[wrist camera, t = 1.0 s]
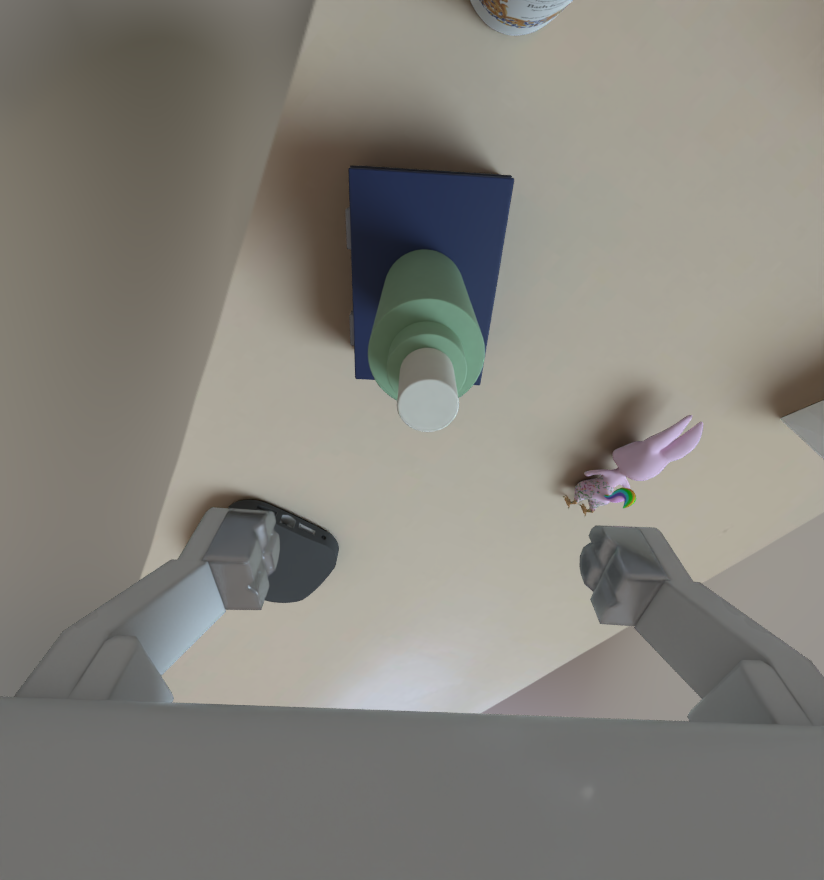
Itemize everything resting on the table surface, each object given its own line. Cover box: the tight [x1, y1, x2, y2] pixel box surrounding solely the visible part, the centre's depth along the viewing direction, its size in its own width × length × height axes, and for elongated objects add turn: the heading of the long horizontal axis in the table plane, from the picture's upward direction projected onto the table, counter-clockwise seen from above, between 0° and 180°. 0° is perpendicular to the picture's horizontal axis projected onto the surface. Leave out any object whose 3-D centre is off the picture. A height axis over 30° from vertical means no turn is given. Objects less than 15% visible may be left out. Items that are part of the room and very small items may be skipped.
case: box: [346, 166, 514, 385], centre depth 30 cm, size 14×10×5 cm
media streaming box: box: [228, 500, 339, 603], centre depth 51 cm, size 15×15×3 cm
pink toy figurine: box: [563, 415, 703, 516], centre depth 40 cm, size 6×6×15 cm
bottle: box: [368, 249, 485, 432], centre depth 22 cm, size 6×6×16 cm
